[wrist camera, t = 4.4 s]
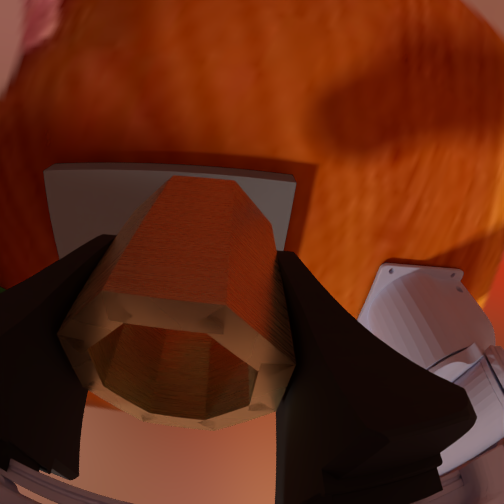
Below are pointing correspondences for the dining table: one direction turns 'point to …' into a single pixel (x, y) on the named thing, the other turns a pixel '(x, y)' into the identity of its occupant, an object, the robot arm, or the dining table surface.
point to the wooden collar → (186, 311)
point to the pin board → (144, 196)
